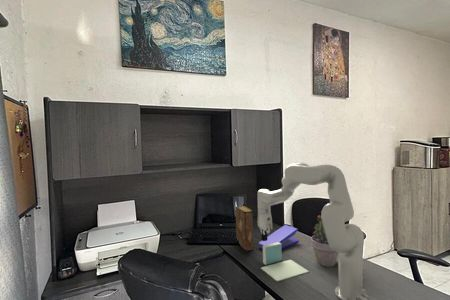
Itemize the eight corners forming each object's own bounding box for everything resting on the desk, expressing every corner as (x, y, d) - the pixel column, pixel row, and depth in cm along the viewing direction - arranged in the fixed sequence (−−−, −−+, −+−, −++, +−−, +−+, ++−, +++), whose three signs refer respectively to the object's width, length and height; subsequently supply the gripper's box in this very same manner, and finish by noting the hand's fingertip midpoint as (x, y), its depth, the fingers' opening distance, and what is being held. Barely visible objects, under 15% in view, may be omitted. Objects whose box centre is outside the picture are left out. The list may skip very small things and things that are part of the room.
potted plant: (333, 275, 131) (332, 226, 130) (302, 261, 147) (301, 217, 146) (353, 265, 141) (352, 219, 140) (322, 252, 157) (321, 212, 156)
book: (254, 249, 165) (253, 210, 164) (246, 251, 163) (245, 212, 162) (243, 240, 180) (242, 205, 179) (236, 241, 178) (235, 206, 177)
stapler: (299, 242, 175) (299, 228, 175) (271, 254, 158) (271, 238, 158) (286, 237, 184) (285, 224, 184) (258, 248, 167) (257, 233, 167)
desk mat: (308, 272, 135) (308, 271, 135) (277, 281, 127) (277, 280, 127) (290, 260, 149) (290, 259, 149) (260, 268, 140) (260, 267, 140)
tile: (282, 260, 149) (281, 243, 148) (265, 265, 144) (265, 247, 144) (279, 258, 151) (278, 242, 151) (263, 263, 147) (262, 245, 146)
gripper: (276, 212, 148) (277, 243, 149) (262, 206, 162) (263, 235, 163) (265, 214, 145) (266, 246, 146) (252, 208, 159) (252, 237, 160)
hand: (264, 240), depth 154 cm, fingers closed
